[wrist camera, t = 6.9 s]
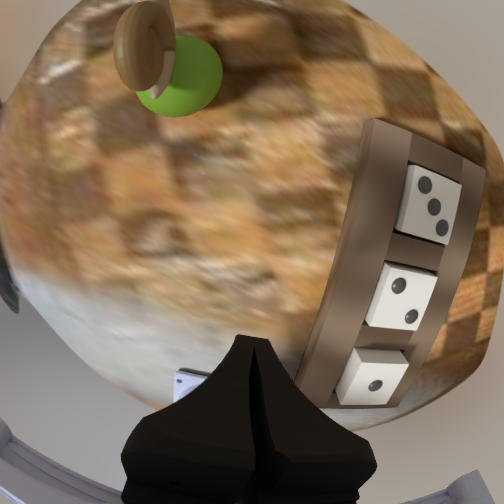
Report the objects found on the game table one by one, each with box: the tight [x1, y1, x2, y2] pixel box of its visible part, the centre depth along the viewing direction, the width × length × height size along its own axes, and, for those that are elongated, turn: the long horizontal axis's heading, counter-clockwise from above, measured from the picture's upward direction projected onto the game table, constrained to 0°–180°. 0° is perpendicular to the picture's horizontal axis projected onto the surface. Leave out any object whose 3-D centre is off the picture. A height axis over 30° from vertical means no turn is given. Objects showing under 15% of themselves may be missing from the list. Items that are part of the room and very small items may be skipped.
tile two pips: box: [364, 260, 438, 331], centre depth 19 cm, size 4×4×3 cm
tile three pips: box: [393, 165, 462, 245], centre depth 17 cm, size 4×4×3 cm
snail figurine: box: [113, 0, 223, 117], centre depth 11 cm, size 5×6×12 cm
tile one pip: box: [335, 346, 409, 405], centre depth 20 cm, size 4×4×3 cm
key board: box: [294, 118, 486, 409], centre depth 19 cm, size 23×11×2 cm, turn 169°
